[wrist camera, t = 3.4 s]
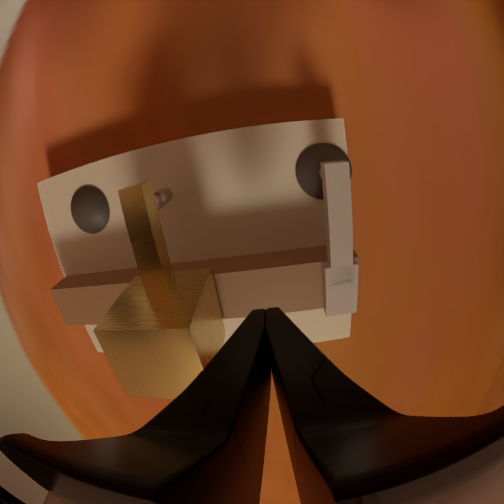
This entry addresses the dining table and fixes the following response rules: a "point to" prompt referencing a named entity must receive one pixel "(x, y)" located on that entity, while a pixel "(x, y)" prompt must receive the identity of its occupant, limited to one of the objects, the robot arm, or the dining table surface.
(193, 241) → the gauge board
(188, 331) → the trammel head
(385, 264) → the dining table surface
